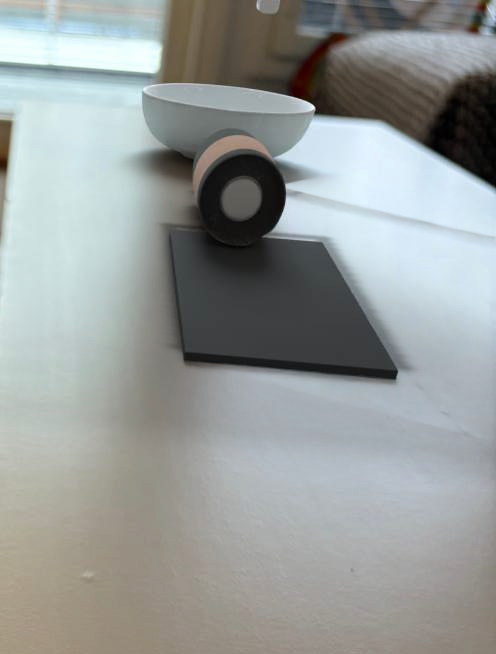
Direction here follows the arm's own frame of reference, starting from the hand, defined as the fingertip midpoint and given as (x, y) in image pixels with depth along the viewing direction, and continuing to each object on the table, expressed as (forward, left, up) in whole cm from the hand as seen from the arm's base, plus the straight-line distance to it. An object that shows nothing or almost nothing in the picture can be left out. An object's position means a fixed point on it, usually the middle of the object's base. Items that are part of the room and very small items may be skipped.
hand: (266, 12), depth 92 cm
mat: (-19, +24, -17) cm, 35 cm away
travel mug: (+1, 0, -13) cm, 13 cm away
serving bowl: (+15, -20, -17) cm, 30 cm away
